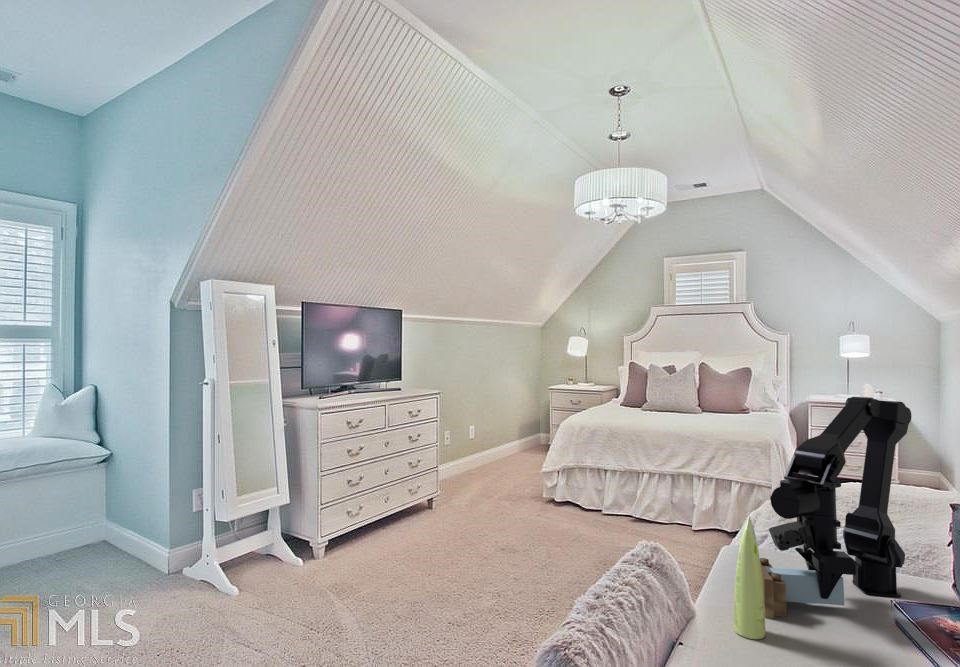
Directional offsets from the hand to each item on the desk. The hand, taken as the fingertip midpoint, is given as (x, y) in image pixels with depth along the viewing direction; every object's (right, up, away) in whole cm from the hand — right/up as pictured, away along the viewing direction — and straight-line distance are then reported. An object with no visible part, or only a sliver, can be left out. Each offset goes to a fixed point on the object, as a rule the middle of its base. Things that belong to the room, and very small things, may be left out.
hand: (820, 594), depth 106 cm
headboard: (-9, -3, +2) cm, 10 cm away
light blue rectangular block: (-3, -1, +1) cm, 3 cm away
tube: (-19, -2, -10) cm, 21 cm away
